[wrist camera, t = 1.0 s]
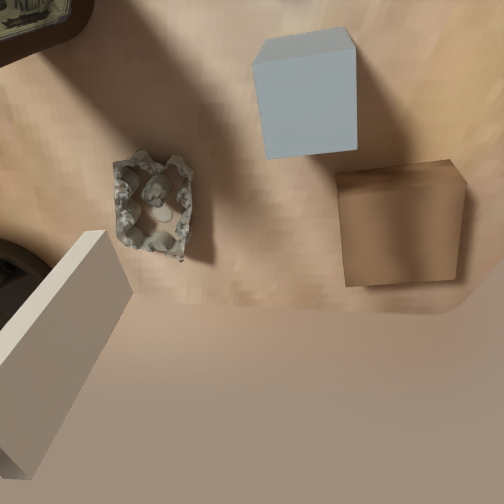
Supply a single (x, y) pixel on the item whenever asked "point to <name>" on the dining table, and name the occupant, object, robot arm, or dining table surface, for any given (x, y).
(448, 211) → the walnut block
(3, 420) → the robot arm
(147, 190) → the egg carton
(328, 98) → the slate block
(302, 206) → the dining table surface
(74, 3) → the olive oil
